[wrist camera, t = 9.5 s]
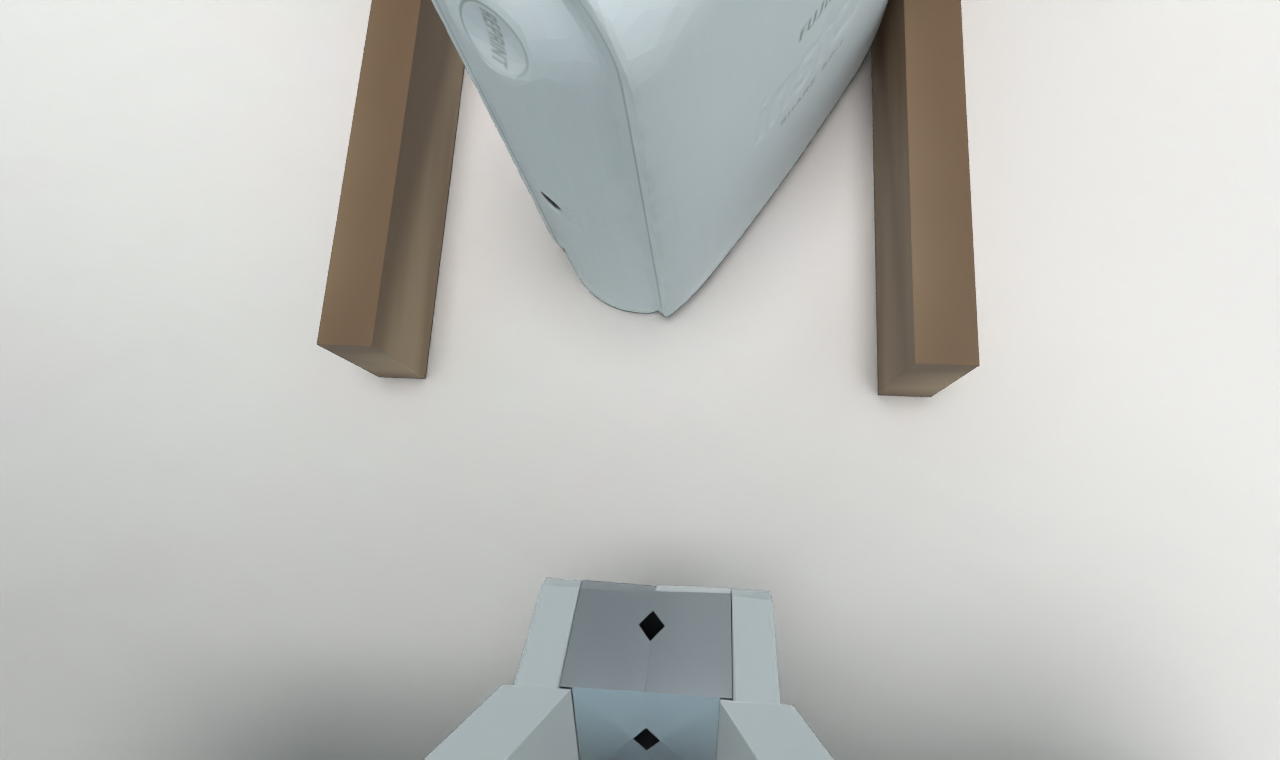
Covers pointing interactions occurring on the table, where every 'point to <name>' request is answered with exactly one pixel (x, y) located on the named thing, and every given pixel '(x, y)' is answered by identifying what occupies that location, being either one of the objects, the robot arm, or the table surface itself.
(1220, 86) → the table surface
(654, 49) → the photo printer
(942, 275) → the dock
